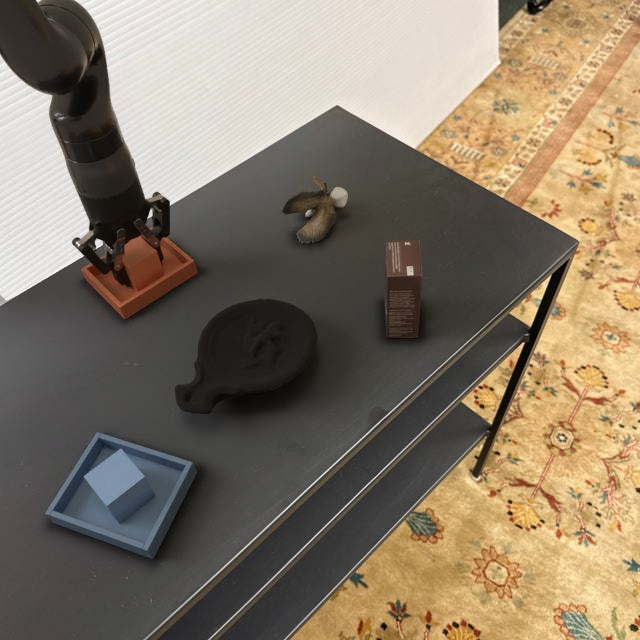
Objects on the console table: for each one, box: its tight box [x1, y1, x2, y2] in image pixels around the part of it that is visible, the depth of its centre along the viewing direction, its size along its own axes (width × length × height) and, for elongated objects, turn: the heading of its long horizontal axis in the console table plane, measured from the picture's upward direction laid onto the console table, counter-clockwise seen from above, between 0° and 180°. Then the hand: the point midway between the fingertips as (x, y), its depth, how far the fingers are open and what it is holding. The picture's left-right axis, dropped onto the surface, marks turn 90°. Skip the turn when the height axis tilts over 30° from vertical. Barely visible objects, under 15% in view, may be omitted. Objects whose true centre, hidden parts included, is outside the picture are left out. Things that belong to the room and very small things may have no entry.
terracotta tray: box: [80, 226, 199, 320], centre depth 91 cm, size 12×10×2 cm
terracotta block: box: [123, 236, 164, 291], centre depth 90 cm, size 5×5×5 cm
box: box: [384, 239, 423, 339], centre depth 80 cm, size 6×4×12 cm
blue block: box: [84, 449, 155, 524], centre depth 69 cm, size 5×5×5 cm
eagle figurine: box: [281, 175, 349, 244], centre depth 95 cm, size 8×7×9 cm
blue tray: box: [44, 431, 198, 560], centre depth 70 cm, size 12×10×2 cm
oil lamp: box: [174, 298, 319, 415], centre depth 79 cm, size 15×20×5 cm
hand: (141, 272), depth 91 cm, fingers closed on terracotta block, 4 cm apart
